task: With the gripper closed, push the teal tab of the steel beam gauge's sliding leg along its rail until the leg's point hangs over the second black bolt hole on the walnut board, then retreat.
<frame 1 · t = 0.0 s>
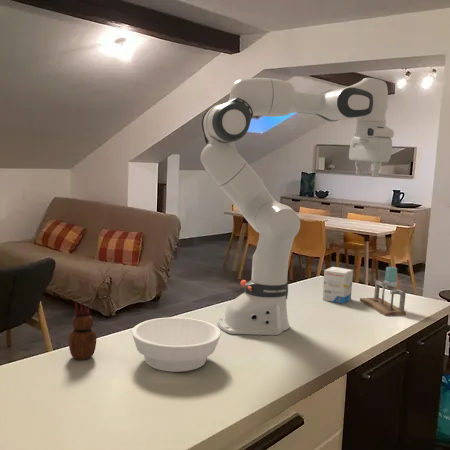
hand: (366, 175, 171), 48 cm above the kitchen counter, fingers open, 8 cm apart
sliding leg: (388, 285, 195), point 8 cm above the kitchen counter, slide at 0.0 cm
board: (381, 307, 196), on the kitchen counter
ink box: (336, 300, 205), on the kitchen counter
bowl: (175, 363, 138), on the kitchen counter
wooden figurine: (82, 358, 138), on the kitchen counter
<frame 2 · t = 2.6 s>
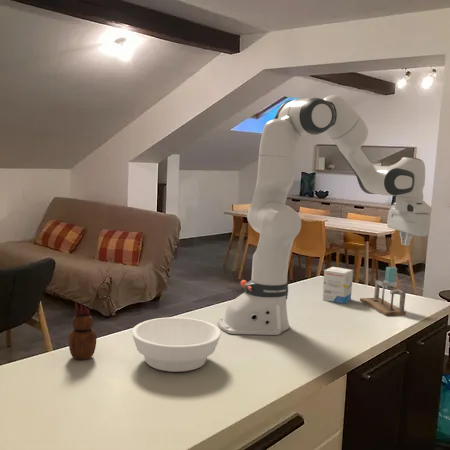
hand: (405, 245, 187), 24 cm above the kitchen counter, fingers closed
nothing on the kitchen counter moved.
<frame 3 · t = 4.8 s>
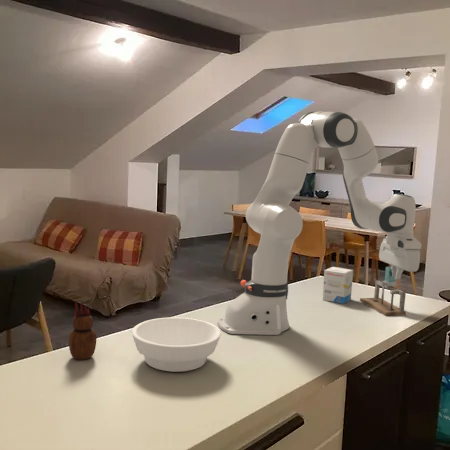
hand: (396, 278, 192), 12 cm above the kitchen counter, fingers closed
sliding leg: (388, 285, 196), point 8 cm above the kitchen counter, slide at 0.2 cm, touching gripper
everything else where it was.
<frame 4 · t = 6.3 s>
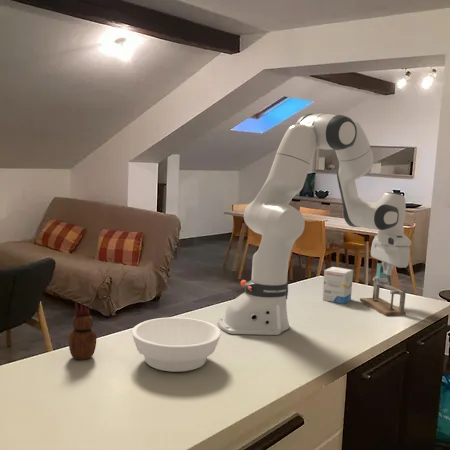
hand: (387, 274, 198), 12 cm above the kitchen counter, fingers closed
sliding leg: (379, 281, 201), point 8 cm above the kitchen counter, slide at 6.3 cm, touching gripper
everything else where it was.
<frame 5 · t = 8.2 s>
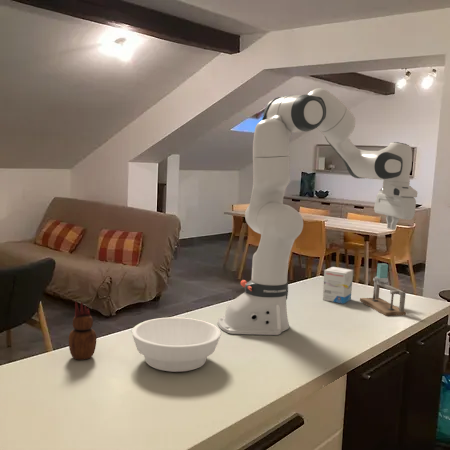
hand: (391, 229, 190), 29 cm above the kitchen counter, fingers closed
sliding leg: (379, 281, 201), point 8 cm above the kitchen counter, slide at 6.0 cm
everything else where it was.
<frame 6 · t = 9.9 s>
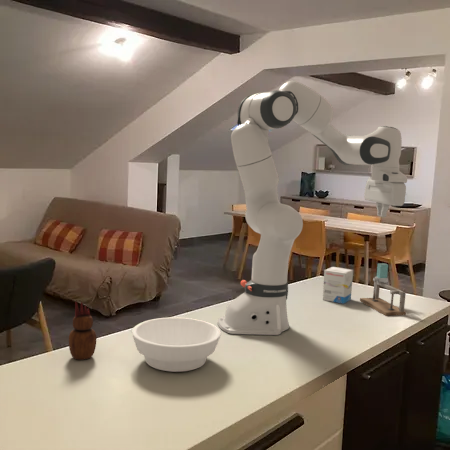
hand: (381, 216, 184), 34 cm above the kitchen counter, fingers closed
nothing on the kitchen counter moved.
at the end: sliding leg slide at 6.0 cm; sliding leg 1.0 cm from the target spot on the board, point 8.3 cm above the board's base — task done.
